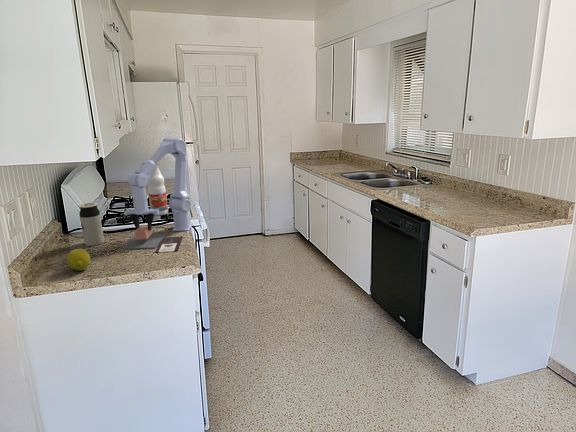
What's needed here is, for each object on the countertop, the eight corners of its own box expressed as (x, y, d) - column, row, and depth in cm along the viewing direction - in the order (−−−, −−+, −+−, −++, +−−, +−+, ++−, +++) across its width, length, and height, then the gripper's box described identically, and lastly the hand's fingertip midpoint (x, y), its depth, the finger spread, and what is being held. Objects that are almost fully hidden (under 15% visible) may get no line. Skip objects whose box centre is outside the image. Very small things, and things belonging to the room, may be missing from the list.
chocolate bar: (182, 236, 182) (177, 250, 165) (182, 238, 183) (177, 252, 165) (162, 237, 181) (155, 252, 164) (162, 239, 182) (155, 254, 164)
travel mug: (104, 239, 183) (98, 201, 178) (103, 244, 176) (97, 205, 171) (85, 241, 180) (78, 203, 175) (84, 247, 173) (76, 207, 168)
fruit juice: (165, 210, 229) (159, 162, 221) (170, 213, 222) (165, 164, 214) (148, 213, 224) (142, 164, 216) (153, 216, 217) (147, 166, 209)
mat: (137, 235, 186) (137, 234, 186) (167, 234, 186) (166, 233, 186) (122, 249, 169) (122, 248, 169) (155, 248, 169) (154, 247, 169)
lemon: (91, 272, 147) (87, 252, 144) (67, 276, 144) (63, 256, 142) (92, 262, 156) (89, 243, 154) (70, 265, 153) (66, 246, 151)
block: (146, 239, 173) (145, 230, 172) (136, 239, 173) (135, 231, 172) (152, 233, 180) (151, 224, 179) (142, 233, 180) (141, 225, 179)
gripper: (120, 203, 169) (124, 233, 172) (154, 202, 169) (157, 232, 172) (126, 199, 175) (130, 228, 179) (159, 198, 175) (162, 227, 179)
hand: (144, 230), depth 176 cm, fingers closed on block, 4 cm apart
